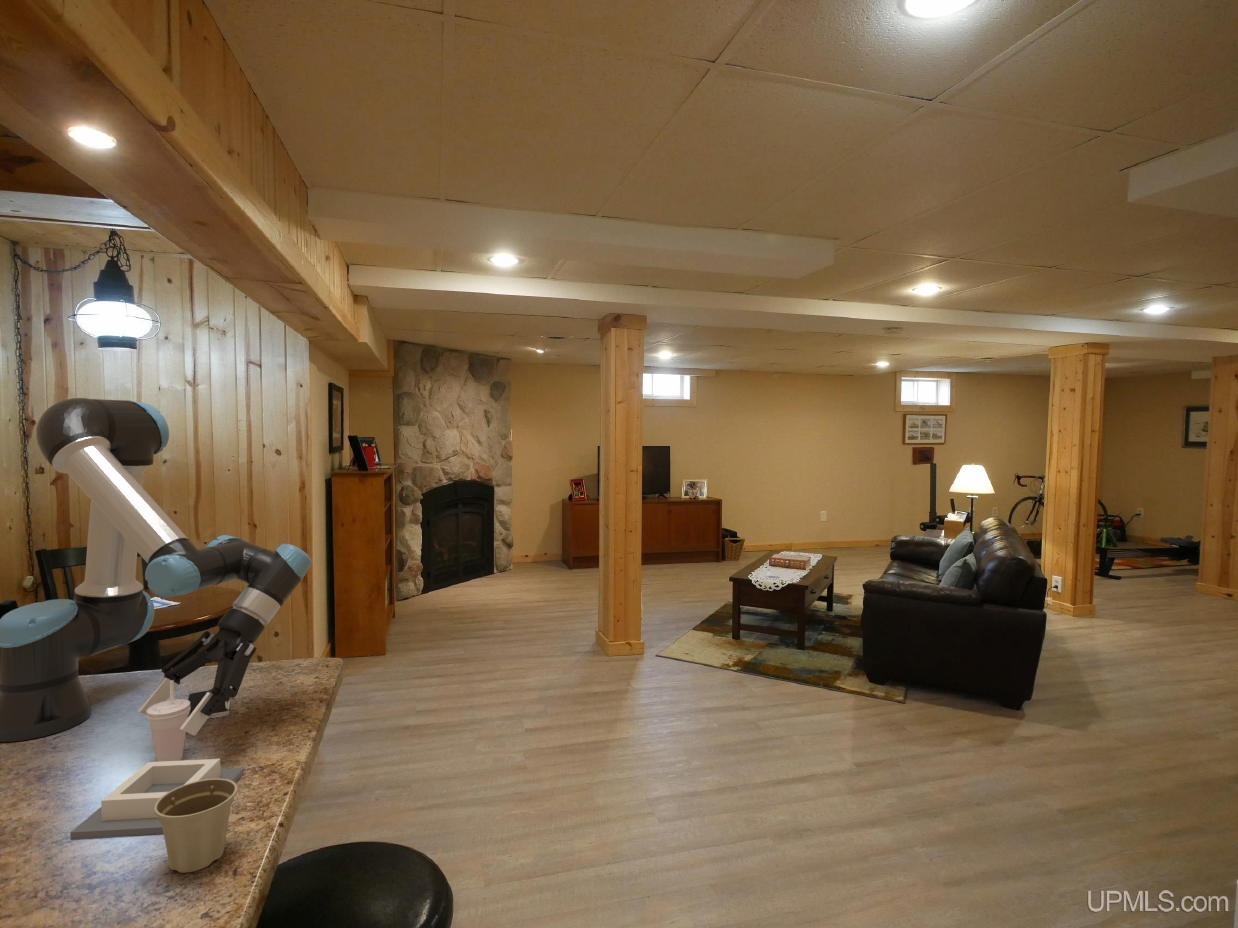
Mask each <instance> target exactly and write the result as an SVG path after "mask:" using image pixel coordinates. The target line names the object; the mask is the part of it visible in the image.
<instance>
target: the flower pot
mask: <svg viewBox="0 0 1238 928" xmlns="http://www.w3.org/2000/svg"><path fill="white" fill-rule="evenodd" d="M237 792H238V785H237V782H236V783H235V782H234V781H231V780H229V779H222V778H212V779H204V780H199V781H195V782H192V783H188V784H185V785H183V786H180V787H177V788H175V789H173V790H171V791H169V792H168V793H166V794H165V795H163V796H162V797H161V798H160V799H159V800H158V801H157V802H156V804H155V806H154V812H155V814H156V815H157V816H158V818H159V822H160V823H161V824H162V828H163V833H164V834H163V837H164V843H165V848H166V852H167V853H166V854H167V860H168V866H169V869H170V870H171V871H176V872H178V873H180V874H184V873H185V874H186V873H191V872H197V871H199V870H203V869H205V868H207V867H208V866H210V865H211V864H212V863H213V862H214V861H217V860H219V859H220V858H221V857H222V855H223V854H224V852H225V847H226V846H225V845H226V839H227V832H228V824H229V821H230V820H229V819H230V818H229V817H230V813H231V806H232V805H233V803H234V798H235V796H236V795H237Z"/></svg>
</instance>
